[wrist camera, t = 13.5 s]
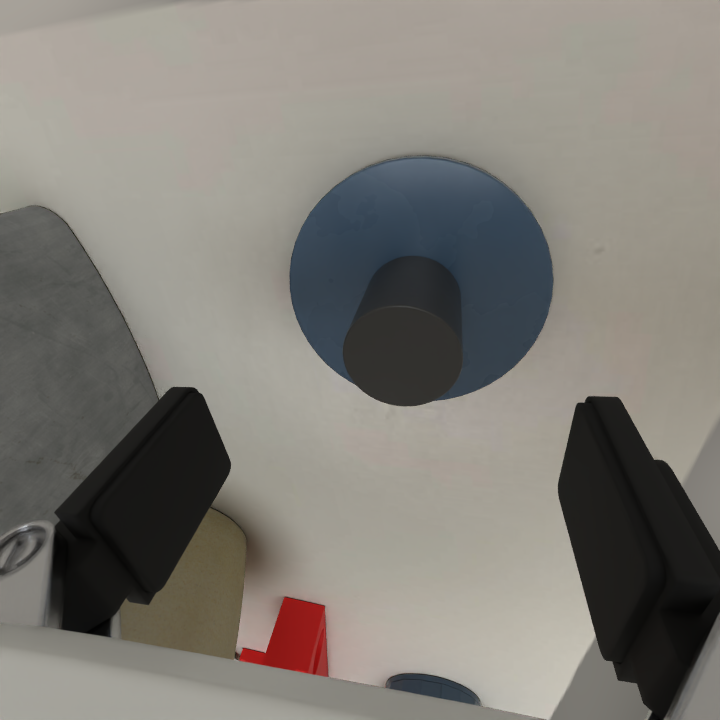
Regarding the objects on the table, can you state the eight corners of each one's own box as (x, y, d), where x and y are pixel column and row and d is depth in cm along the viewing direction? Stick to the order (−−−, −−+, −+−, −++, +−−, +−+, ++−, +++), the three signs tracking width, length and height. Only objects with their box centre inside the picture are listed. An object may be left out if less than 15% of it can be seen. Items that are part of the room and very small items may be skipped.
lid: (568, 137, 14) (627, 160, 9) (531, 390, 20) (556, 484, 15) (273, 167, 16) (199, 198, 12) (319, 384, 22) (282, 464, 17)
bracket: (300, 808, 38) (203, 778, 40) (328, 680, 47) (247, 659, 48) (286, 758, 28) (156, 721, 30) (324, 606, 37) (221, 582, 38)
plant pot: (193, 583, 39) (65, 826, 26) (87, 483, 33) (-155, 740, 20) (324, 577, 34) (243, 881, 21) (227, 454, 27) (19, 788, 14)
